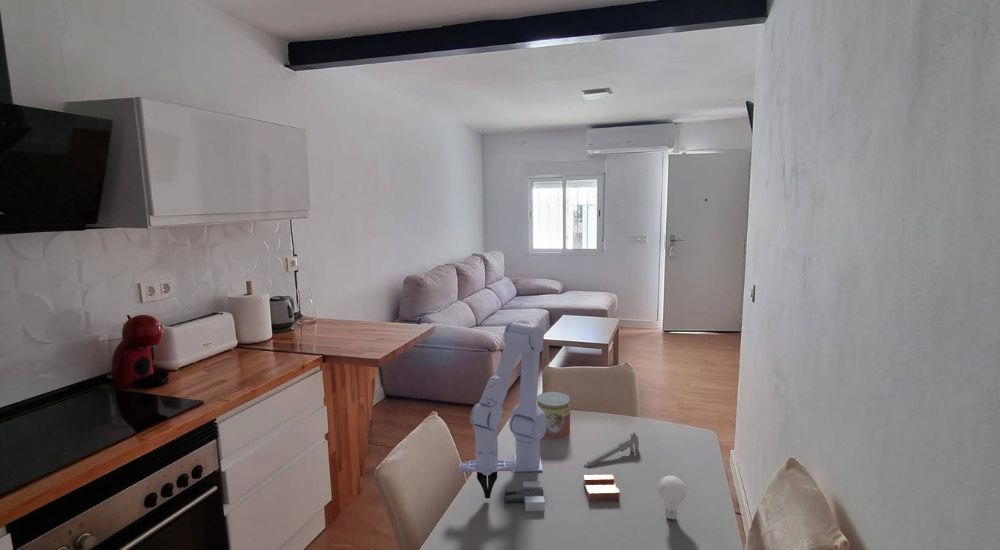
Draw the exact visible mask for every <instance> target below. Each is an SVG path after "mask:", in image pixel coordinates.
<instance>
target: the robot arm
mask: <svg viewBox="0 0 1000 550" xmlns="http://www.w3.org/2000/svg"><path fill="white" fill-rule="evenodd" d="M503 332H504V333H503V336H502V339H503V344H504V346H503V350H502V353H501V356H500V359H499V363H498V365H497V369H496V372H495V375H493V376H491V377H489V379H488V381H487V384H486V386H485V388H484V391H483V392H482V396H481V398H480V400H479V402H478V403H476V404H475V405H474V406H473V407H472V408H471V411H470V416H469V421H470V423H471V424H472V428H473V431H474V433H475V434H474V435H475V459H474V460H469V461H465V462H464V461H463V462H459V465H458V473H459V474H464V473H470V472H471V473H472V472H476V479H477V482H478V484H480V486H481V488H482V491H483V494H484V499H491V494H492V491H493V488H494V485H495V483H496V482H497V479H498V472H510V473H515V472H518V473H519V472H542V471H543V466H542V460H541V447H540V446H541V445H540V444H541V439H543V436H544V434H545V431H546V422H545V413H544V412H543V411H542V410H541V409H540V408H539V407H538V406H537V396H538V390H539V389H538V388H539V386H538V385H539V375H540V372H539V371H540V370H539V369H540V354H541V352H543V350H544V339H545V338H544V337H545V331H544V329H543V328H542V327H541V326H540V325H537V324H529V323H522V322H517V321H516V322H515V321H512V320H511V321H509V322H508V323H507V324H506V325H505V328H504V331H503ZM520 356H521V368H520V383H519V385H520V388H519V402H518V405H516V406H514V407H513V409H511V415H510V419H509V422H508V427H509V431H510V432H511V433H512V435H513V437H514V438H515V453H513V461H511V460H510V461H508V460H503V459H499V453H498V452H499V450H498V449H499V448H498V444H499V443H498V442H499V441H498V440H499V438H498V427H499V426H500V424H501V422H502V419H503V410H504V407H503V404H504V401H505V399H506V397H507V394H508V391H509V388H510V383H509V381H508V380H509V378H510V376H511V374H512V372H513V370H514V367H515V366H516V364H517V361H518V360H519V358H520Z"/></svg>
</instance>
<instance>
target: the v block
mask: <svg viewBox="0 0 1000 550" xmlns="http://www.w3.org/2000/svg"><path fill="white" fill-rule="evenodd" d="M583 485H584V489H585V492H586V496H587V499H588V502H591V503H593V502H620V498H621V497H620V495H621V493H620V492H621V491H620V490H619V487H617V485H616V483H615V477H614V475H613V474H591V475H590V474H584V475H583Z"/></svg>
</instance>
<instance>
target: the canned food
mask: <svg viewBox="0 0 1000 550" xmlns="http://www.w3.org/2000/svg"><path fill="white" fill-rule="evenodd" d="M537 406H538V407H539V408H540V409H541V410H542V411H543V412H544V413H545V422H546V431H545V434H544V436H543V437H542V439H543V438H544V439H546V440H551V441H552V440H553V441H556V440H557V441H559V440H564V439H566V438H568V437H569V436H570V435H571V396H569V395H568V394H567V393H563V392H559V391H546V392H542V393H540V394H537Z"/></svg>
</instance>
